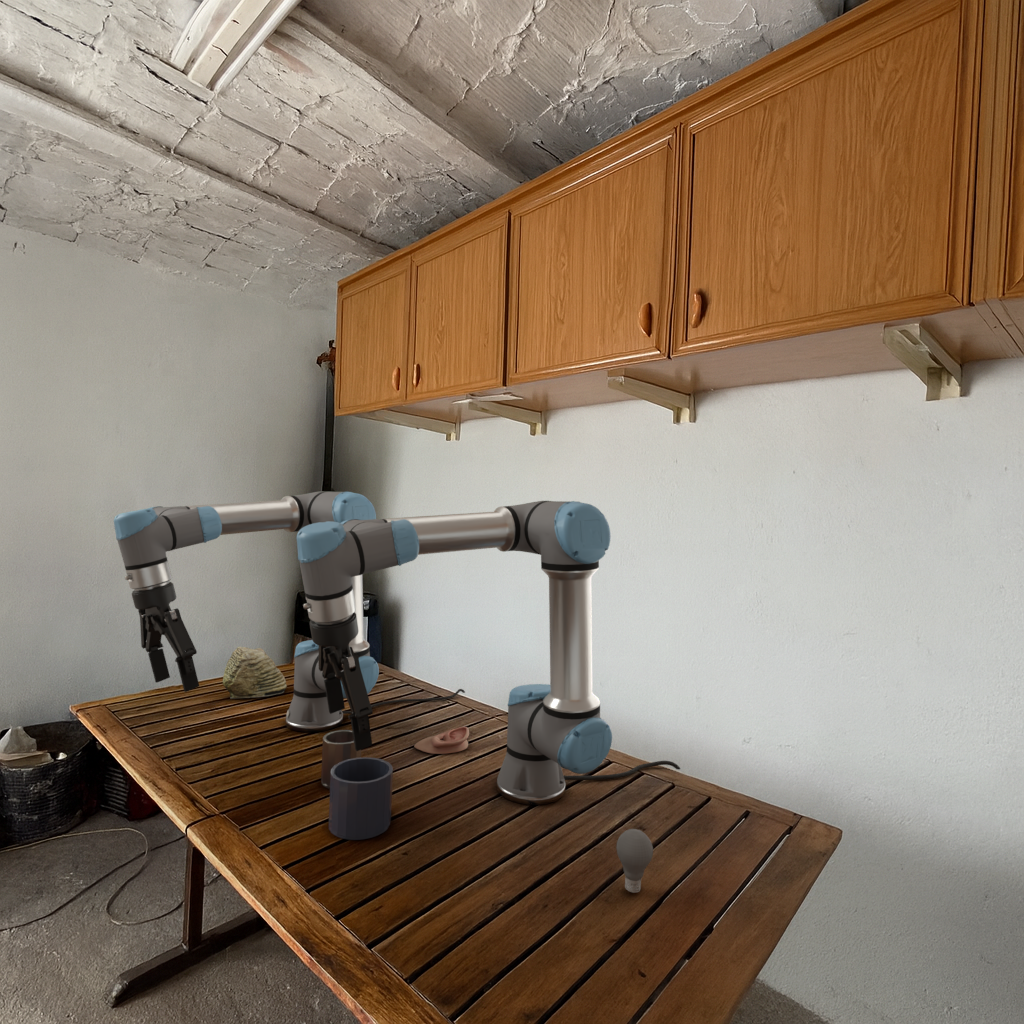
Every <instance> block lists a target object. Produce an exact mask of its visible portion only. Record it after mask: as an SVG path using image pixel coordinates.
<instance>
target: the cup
mask: <svg viewBox="0 0 1024 1024" xmlns="http://www.w3.org/2000/svg"><path fill="white" fill-rule="evenodd" d="M321 749H322V751H321V773H320V774H321V776H320V777H321V778H320V781H321V785H322V787H324V788H326V789H328V790H330V777H331V769H332V768H333V766H334V765H336V764H338V763H339V762H342V761H345V760H348V759H353V758H362V750H359V751H356V750H355V744H354V738H353V731H352V729H351V730H350V729H339V730H333V731H330V732H327V733H326V734H325V735H323V737H322V748H321Z"/></svg>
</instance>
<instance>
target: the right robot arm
mask: <svg viewBox="0 0 1024 1024" xmlns="http://www.w3.org/2000/svg"><path fill="white" fill-rule="evenodd" d="M296 533H297V534H296V547H297V560H298V561H299V566H300V573H301V578H302V584H303V590H304V595H305V600H306V603H303V604H302V606H303V609H304V610H307V614H308V618H309V620H310V621H309V629H310V634H311V640H313V642H314V643H315V644H317V645H319V667H318V668H319V670H320V671H322V676H323V678H324V679H325V678H326V680H324V683H325V689H326V695H327V702H328V708H329V712H330V714H332V713H334V712H337V711H340V710H342V711H343V710H345V709H346V706H345V700H344V698H343V693H342V686H341V683H342V685H343V688H344V691H345V694H346V697H347V699H346V701H347V703H348V707H349V709H350V711H351V712H352V714H348V716H347V718H348V720H350V724H351V731H353V738H354V744H355V750H356V751H359V750H361V751H362V750H364V749H366V748H368V747H371V746H373V739H372V733H371V724H370V718H369V716H371V715H373V712H374V711H373V707H372V708H371V705H372V704H371V702H370V698H369V693H368V694H367V690H366V687H365V683H364V679H363V676H362V672H361V669H360V664H359V657H358V655H357V654H354V652H353V649H352V647H350V646H349V643H350V642H351V641H352V640H353V639H354V638H355V637H356V636H357V635H358V631H359V630H358V623H357V616H356V613H355V610H356V606H355V599H354V593H353V587H352V582H351V578H352V577H354V576H358V575H362V576H363V575H365V574H369V573H373V572H376V571H377V572H378V571H381V570H385V569H389V568H393V567H397V566H399V567H401V566H402V565H404V564H408V563H410V562H413V561H415V560H416V559H417V558H418V556H420V555H429V554H442V553H451V552H463V551H464V552H465V551H474V550H483V549H484V550H485V549H486V550H487V549H495V548H496V549H497V550H498V551H500V552H504V553H505V552H522V553H529V554H533V555H539V556H540V569H541V571H543V572H544V574H545V575H547V578H548V600H549V601H548V605H549V606H548V608H549V609H548V610H549V611H548V613H549V614H548V615H549V619H548V620H549V621H548V622H549V682H550V683H549V684H547V683H530V684H521V685H518V686H515V687H513V688H512V689H511V690H510V692H509V695H508V701H507V708H508V709H507V730H506V732H507V733H506V752H505V756H504V759H503V761H502V764H501V766H500V770H499V773H498V775H497V779H496V790H497V792H498V794H500V796H502V797H503V798H505V799H507V800H509V801H511V802H515V803H518V804H522V805H530V806H531V805H532V806H538V805H546V804H547V805H548V804H551V803H554V802H558V800H561V798H563V797H564V795H565V793H566V781H597V780H598V781H599V780H600V781H601V780H603V781H604V780H614V779H620V778H624V777H628V776H631V775H633V774H635V773H636V772H638V771H640V770H642V769H646V768H647V769H648V768H652V767H658V766H665V765H666V766H671V767H673V768H674V769H675V770H681V767H680V766H679V765H678V764H677V763H675V762H673V761H670V760H658V761H657V760H656V761H653V762H648V763H642V764H639V765H637V766H634V767H633V768H631V769H630V770H627V771H624V772H619V773H612V774H600V775H583V774H588V773H591V772H593V771H594V770H596V769H597V768H598V767H600V766H601V765H602V764H603V761H604V760H605V759H606V758H607V756H608V755H609V752H610V751H611V747H612V742H613V733H612V729H611V726H610V725H609V724H608V722H607V721H606V720H605V719H602V717H601V700H600V698H599V697H598V696H596V694H594V692H593V617H592V615H593V612H592V611H593V610H592V607H593V606H592V605H593V604H592V603H593V602H592V601H593V600H592V599H593V597H592V577H593V576H594V575H595V573H596V572H598V571H599V570H600V560H601V559H603V558H604V556H605V555H606V551H608V550H609V548H610V543H611V537H612V536H611V527H610V525H609V522H608V519H607V518H606V515H604V513H603V512H601V510H600V509H599V508H598V507H596V506H594V505H592V504H591V503H586V502H581V501H575V500H571V501H570V500H569V501H567V500H565V501H563V500H561V501H560V500H559V501H558V500H537V501H532V502H525V503H522V504H515V505H513V504H512V505H505V506H503V505H502V506H498V507H496V508H495V509H494V510H493V511H485V512H484V511H482V512H470V513H469V512H468V513H452V514H438V515H419V516H406V517H405V516H403V517H392V518H390V517H389V518H376V519H372V520H359V519H351V520H346V521H343V522H341V523H338V522H333V521H328V522H318V523H313V524H310V525H307V526H305V527H303V528H302V529H300V530H299V532H296ZM342 670H343V671H342ZM341 671H342V672H341ZM335 675H336V676H335ZM563 769H564V770H568V771H570V772H571V773H574V774H578V775H564V772H563Z"/></svg>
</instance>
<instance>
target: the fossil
mask: <svg viewBox="0 0 1024 1024" xmlns="http://www.w3.org/2000/svg"><path fill="white" fill-rule="evenodd" d="M222 676H223V677H222V685H223V687H224V688H225V690H226V691H228V693H229V698H230V699H250V698H264V697H271V696H275V695H281V694H284V693H285V691H286V689H287V687H288V686H287V680H286V678H285V676H284V674H283V673H282V672H281V669H279V668H278V667H277V665H276V663H275V662H274V660H273V659H272V658H271V657H270V656H269V655H268V654H267V653H266V652H265V650H264V649H263V648H260V647H258V648H251V647H247V646H246V647H245V646H238V647H237V648H236V649H235V650H233V651H232V653H231V656H230V657H229V659H228V660H227V663H226V666H225V668H224V671H223V675H222Z"/></svg>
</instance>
